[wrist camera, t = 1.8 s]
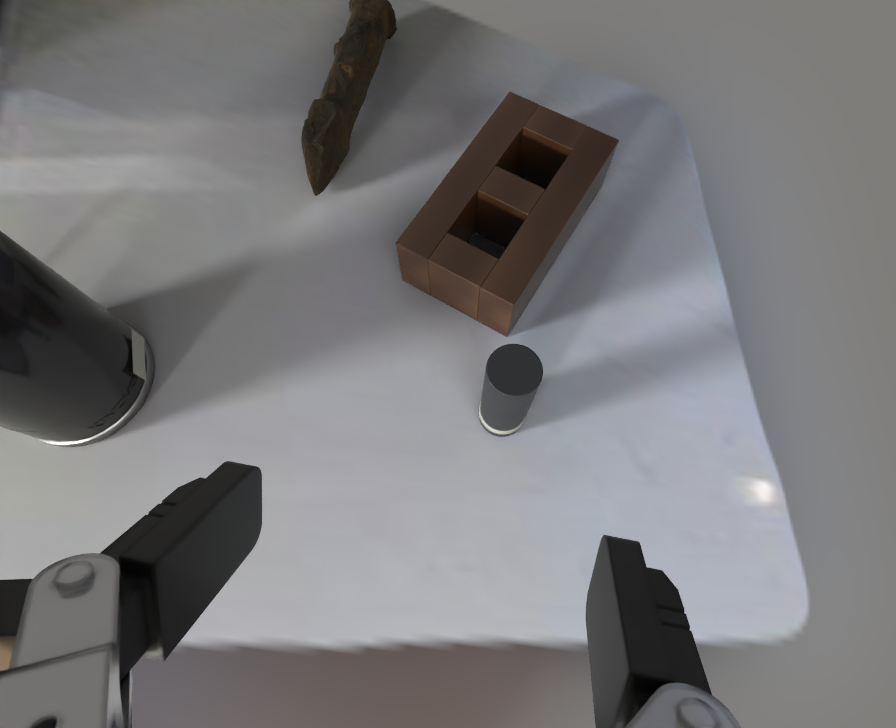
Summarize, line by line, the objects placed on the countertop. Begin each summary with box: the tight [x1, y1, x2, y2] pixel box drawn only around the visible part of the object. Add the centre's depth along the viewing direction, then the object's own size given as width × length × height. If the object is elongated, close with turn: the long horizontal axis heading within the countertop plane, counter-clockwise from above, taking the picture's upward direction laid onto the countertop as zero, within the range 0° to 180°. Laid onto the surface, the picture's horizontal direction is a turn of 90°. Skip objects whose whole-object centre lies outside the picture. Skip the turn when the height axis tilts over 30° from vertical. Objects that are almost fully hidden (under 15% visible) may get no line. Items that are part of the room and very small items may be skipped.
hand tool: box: [302, 0, 397, 196], centre depth 45 cm, size 19×4×5 cm, turn 166°
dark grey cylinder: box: [479, 344, 543, 437], centre depth 33 cm, size 3×3×9 cm
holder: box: [396, 92, 619, 337], centre depth 40 cm, size 9×16×5 cm, turn 148°
